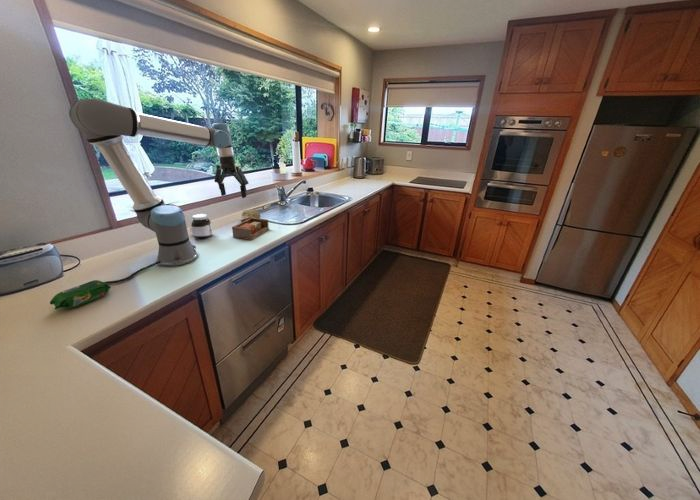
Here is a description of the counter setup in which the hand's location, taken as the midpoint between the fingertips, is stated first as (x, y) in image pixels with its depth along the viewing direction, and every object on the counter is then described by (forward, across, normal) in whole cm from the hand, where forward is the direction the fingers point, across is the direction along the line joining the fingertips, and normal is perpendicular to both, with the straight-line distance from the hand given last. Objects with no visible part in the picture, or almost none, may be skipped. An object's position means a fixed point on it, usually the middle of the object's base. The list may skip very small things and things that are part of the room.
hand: (233, 196), depth 154 cm
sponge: (+21, +5, -16) cm, 27 cm away
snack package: (+16, +2, +78) cm, 80 cm away
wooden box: (+20, -9, +2) cm, 22 cm away
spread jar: (+19, +13, +16) cm, 28 cm away
